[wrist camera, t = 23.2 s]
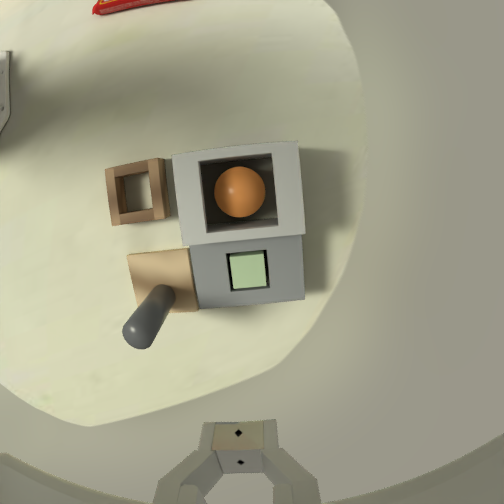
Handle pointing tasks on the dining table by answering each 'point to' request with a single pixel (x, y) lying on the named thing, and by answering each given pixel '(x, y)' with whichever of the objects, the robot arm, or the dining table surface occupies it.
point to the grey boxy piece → (243, 228)
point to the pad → (164, 276)
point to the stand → (119, 199)
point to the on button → (248, 269)
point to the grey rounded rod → (149, 317)
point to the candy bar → (120, 5)
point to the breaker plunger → (239, 192)
